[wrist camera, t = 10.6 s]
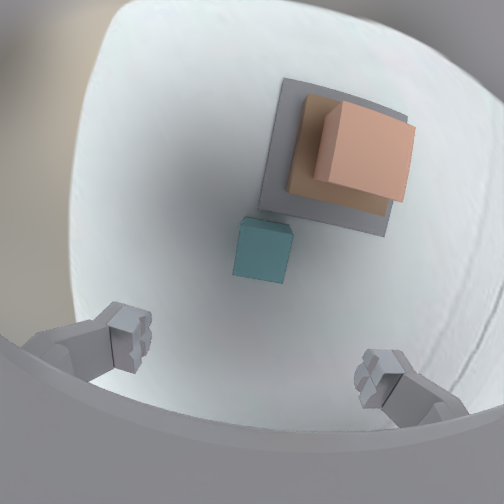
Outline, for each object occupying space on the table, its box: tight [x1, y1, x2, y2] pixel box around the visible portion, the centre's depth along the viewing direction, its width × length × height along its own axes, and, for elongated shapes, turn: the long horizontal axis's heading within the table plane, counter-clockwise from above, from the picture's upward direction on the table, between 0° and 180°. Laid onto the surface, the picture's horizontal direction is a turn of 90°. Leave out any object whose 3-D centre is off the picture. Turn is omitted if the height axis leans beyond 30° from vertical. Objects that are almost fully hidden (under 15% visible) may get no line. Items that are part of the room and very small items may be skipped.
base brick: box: [286, 93, 389, 217], centre depth 20 cm, size 8×8×3 cm
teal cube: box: [233, 217, 293, 284], centre depth 23 cm, size 4×4×4 cm
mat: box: [258, 78, 408, 237], centre depth 22 cm, size 12×12×1 cm
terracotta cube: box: [313, 101, 416, 202], centre depth 16 cm, size 5×5×5 cm
